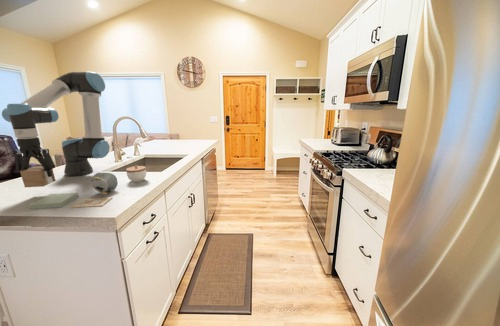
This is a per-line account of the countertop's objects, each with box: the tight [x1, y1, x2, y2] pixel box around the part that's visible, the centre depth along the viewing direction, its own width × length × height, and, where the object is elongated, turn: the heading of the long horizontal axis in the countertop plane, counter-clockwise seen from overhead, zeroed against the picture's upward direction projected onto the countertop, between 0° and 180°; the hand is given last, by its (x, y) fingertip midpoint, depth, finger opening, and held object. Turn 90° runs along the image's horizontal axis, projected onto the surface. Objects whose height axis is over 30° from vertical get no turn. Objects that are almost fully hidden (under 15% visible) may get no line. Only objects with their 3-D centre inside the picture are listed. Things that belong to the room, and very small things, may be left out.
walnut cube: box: [19, 165, 56, 188], centre depth 106 cm, size 8×8×8 cm
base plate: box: [29, 192, 79, 210], centre depth 100 cm, size 12×12×2 cm
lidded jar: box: [125, 165, 147, 183], centre depth 129 cm, size 11×11×9 cm
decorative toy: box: [91, 172, 119, 195], centre depth 109 cm, size 12×10×20 cm
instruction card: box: [69, 196, 113, 209], centre depth 99 cm, size 9×13×1 cm
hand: (40, 183), depth 107 cm, fingers closed on walnut cube, 8 cm apart
